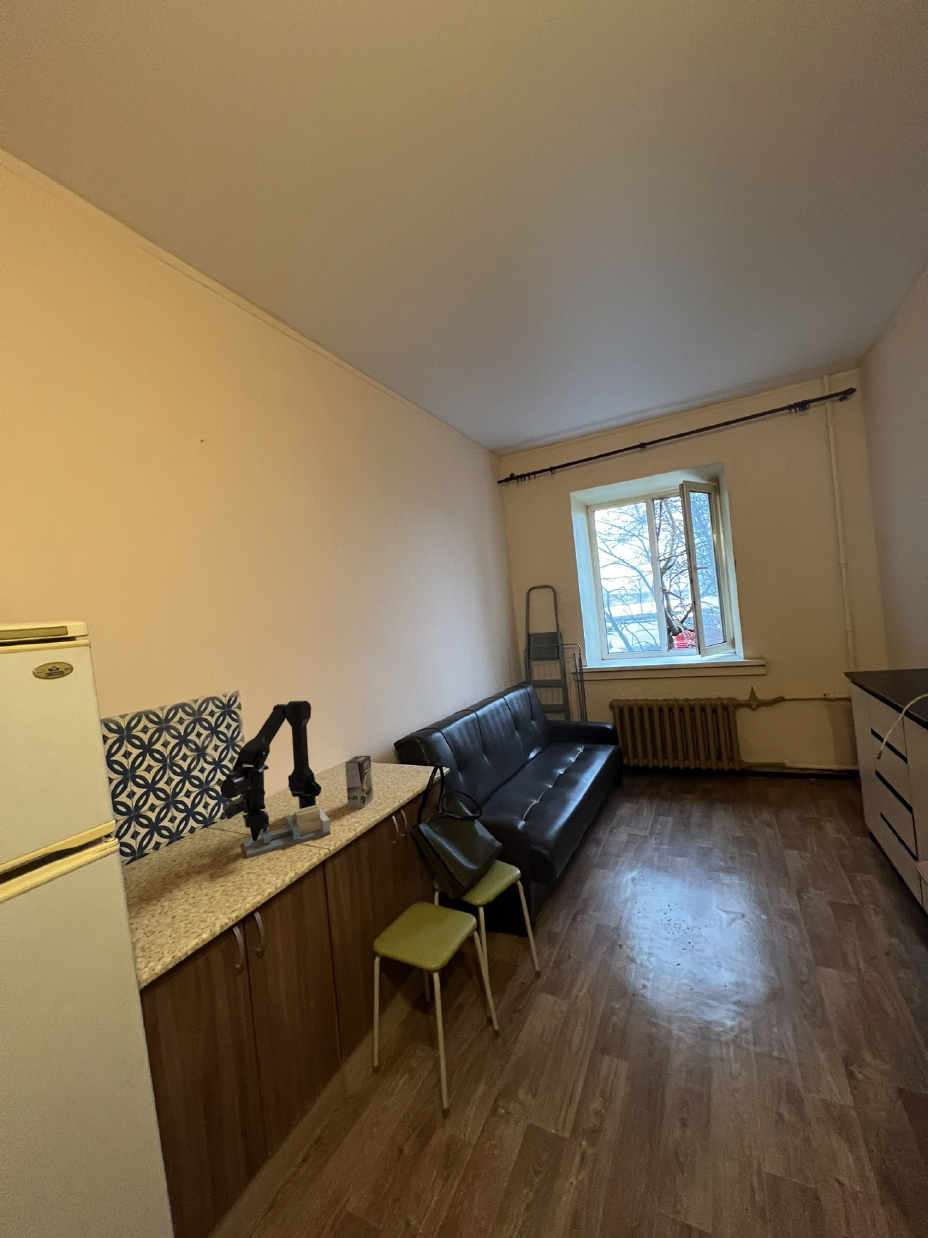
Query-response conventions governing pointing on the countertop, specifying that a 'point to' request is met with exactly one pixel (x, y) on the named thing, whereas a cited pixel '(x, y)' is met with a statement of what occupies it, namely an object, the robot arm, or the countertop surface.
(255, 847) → the vise bed
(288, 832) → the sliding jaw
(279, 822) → the countertop surface
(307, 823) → the oak block
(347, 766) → the coffee box
